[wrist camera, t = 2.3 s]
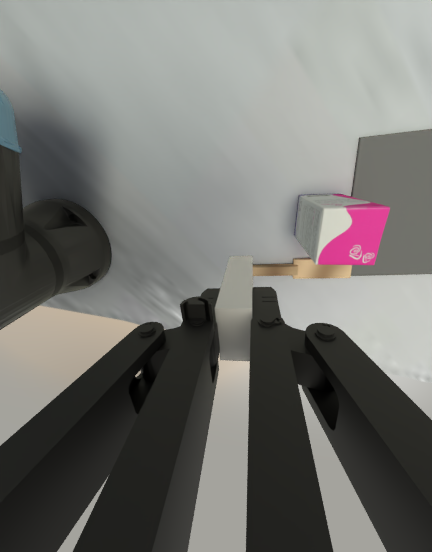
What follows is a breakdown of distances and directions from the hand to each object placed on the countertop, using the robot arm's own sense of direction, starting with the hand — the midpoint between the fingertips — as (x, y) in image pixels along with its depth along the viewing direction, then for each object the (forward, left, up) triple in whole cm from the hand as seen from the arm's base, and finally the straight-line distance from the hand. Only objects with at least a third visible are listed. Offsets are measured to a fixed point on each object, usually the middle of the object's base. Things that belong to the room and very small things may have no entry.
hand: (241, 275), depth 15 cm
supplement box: (+10, 0, -20) cm, 22 cm away
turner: (+8, -7, -19) cm, 22 cm away
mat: (+20, 0, -19) cm, 28 cm away
